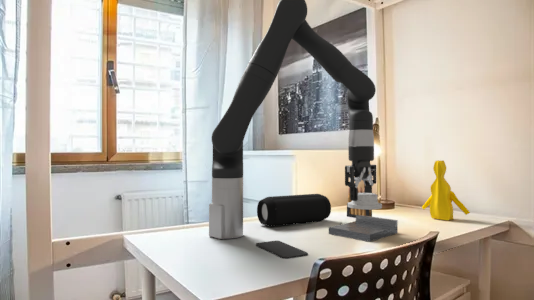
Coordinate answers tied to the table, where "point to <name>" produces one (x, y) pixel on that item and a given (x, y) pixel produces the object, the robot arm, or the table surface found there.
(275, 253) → the phone
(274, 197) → the portable speaker
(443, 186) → the figure statuette
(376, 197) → the mechanical component
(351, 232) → the plate
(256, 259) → the table surface
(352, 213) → the ammunition clip
